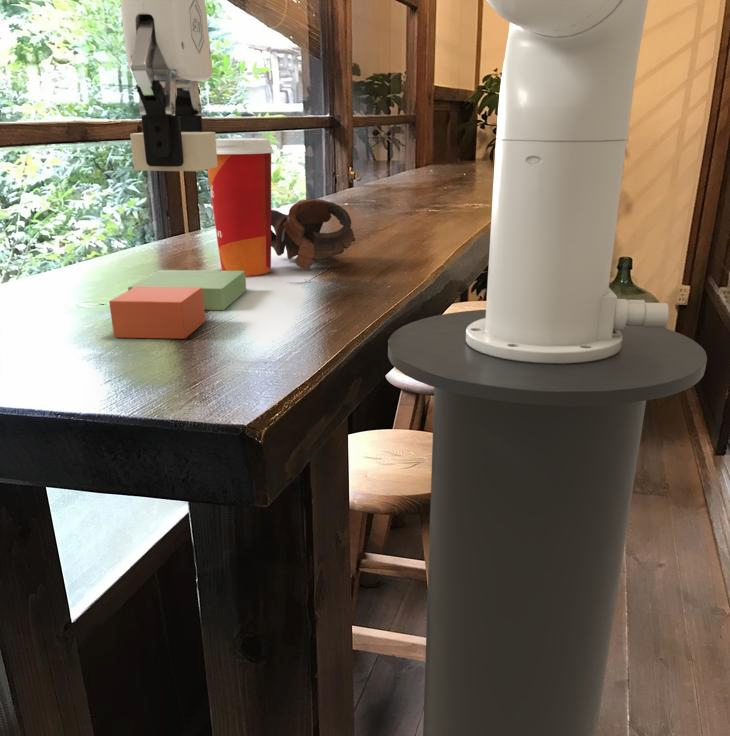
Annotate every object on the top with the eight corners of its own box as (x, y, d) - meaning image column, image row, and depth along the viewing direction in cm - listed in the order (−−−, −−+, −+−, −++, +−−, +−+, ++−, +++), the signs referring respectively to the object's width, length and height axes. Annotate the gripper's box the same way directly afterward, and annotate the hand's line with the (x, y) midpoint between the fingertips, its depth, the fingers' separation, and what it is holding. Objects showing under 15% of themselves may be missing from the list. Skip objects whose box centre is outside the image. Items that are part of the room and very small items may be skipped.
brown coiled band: (353, 259, 102) (365, 204, 96) (337, 307, 97) (348, 251, 90) (262, 233, 102) (267, 176, 95) (240, 279, 96) (244, 221, 90)
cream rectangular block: (217, 166, 76) (215, 132, 75) (200, 171, 71) (197, 134, 70) (156, 166, 77) (152, 131, 76) (134, 170, 72) (129, 133, 70)
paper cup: (240, 263, 97) (231, 137, 91) (293, 269, 94) (287, 138, 88) (197, 274, 91) (185, 139, 85) (252, 280, 88) (243, 140, 82)
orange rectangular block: (205, 321, 71) (202, 287, 70) (185, 339, 65) (181, 302, 64) (139, 320, 71) (135, 286, 70) (113, 337, 66) (108, 301, 65)
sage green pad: (246, 290, 83) (245, 270, 82) (224, 310, 75) (222, 288, 74) (161, 289, 84) (159, 269, 83) (130, 308, 76) (127, 287, 75)
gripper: (167, -98, 58) (189, 171, 66) (227, -55, 74) (239, 158, 81) (66, -96, 59) (100, 170, 66) (147, -53, 74) (167, 158, 82)
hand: (177, 161), depth 74 cm, fingers closed on cream rectangular block, 6 cm apart
